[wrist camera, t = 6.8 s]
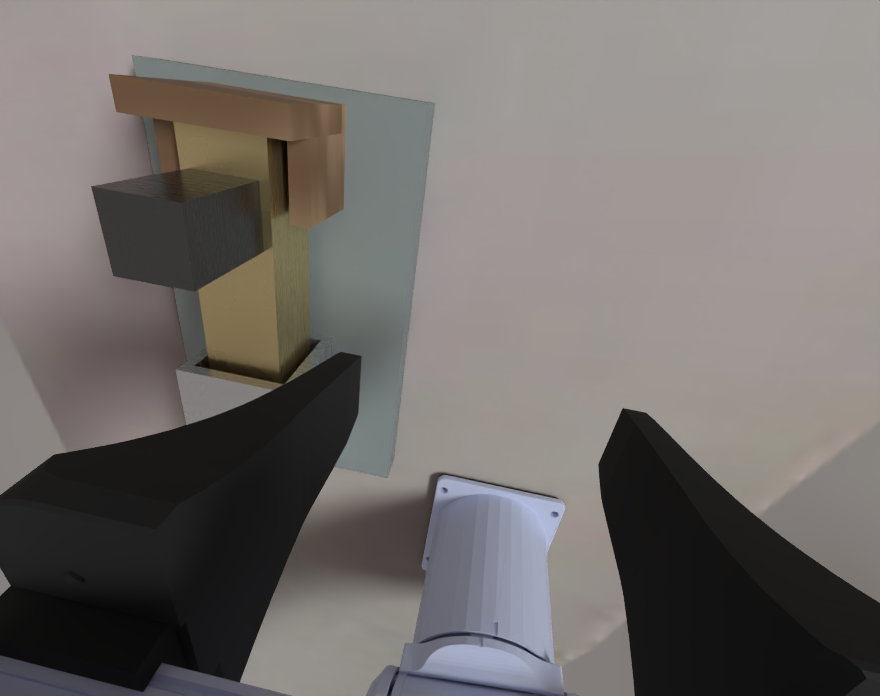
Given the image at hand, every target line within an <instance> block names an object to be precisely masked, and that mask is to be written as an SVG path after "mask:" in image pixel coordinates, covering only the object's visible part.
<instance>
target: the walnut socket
mask: <svg viewBox="0 0 880 696" xmlns="http://www.w3.org/2000/svg"><path fill="white" fill-rule="evenodd" d="M109 78H110V83H111V88H112V93H113V98H114V103H115V107H116V112H120V113H126V114H132V115H138V116H144V117H150V118H153V124H154V130H155V136H156V142H157V148H158V154H159V160H160V166H161V172H162V173H166V172H172V171H177V170H180V164H179V157H178V150H177V143H176V137H175V130H174V123H173V122H179V123H185V124H191V125H197V126H202V127H208V128H214V129H220V130H226V131H232V132H238V133H244V134H249V135H255V136H261V137H267V138H273V139H279V140H285V141H287V153H288V183H289V213H290V225H295V226H301V227H306V228H312V227H314V226H316V225H317V224H319V223H321V222H322V221H324V220H326V219H327V218H329V217H331V216H333V215H334V214H336V213H338V212H339V211H341V210H343V208H344V172H345V135H346V105H345V104H339V103H333V102H327V101H321V100H315V99H309V98H302V97H296V96H290V95H284V94H278V93H272V92H266V91H260V90H254V89H247V88H241V87H235V86H229V85H223V84H217V83H211V82H199V81H187V80H175V79H163V78H150V77H138V76H126V75H114V74H109Z"/></svg>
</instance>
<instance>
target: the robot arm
mask: <svg viewBox="0 0 880 696" xmlns="http://www.w3.org/2000/svg"><path fill="white" fill-rule="evenodd" d="M361 359H362V356H360V355H355V354H350V353H345V352H339V353H337V354H335V355H334V356H332V357H330V358H329V359H327V360H325V361H324V362H322V363H320V364H319V365H317V366H315V367H314V368H312V369H310V370H309V371H307V372H305V373H303V374H302V375H300V376H298V377H296V378H295V379H293V380H291V381H290V382H288V383H286V384H284V385H282V386H280V387H278V388H276V389H274V390H272V391H270V392H268V393H266V394H264V395H262V396H260V397H258V398H256V399H254V400H252V401H250V402H247V403H245V404H243V405H241V406H238V407H236V408H233V409H231V410H228V411H226V412H223V413H221V414H218V415H215V416H212V417H209V418H206V419H203V420H200V421H197V422H194V423H191V424H188V425H185V426H182V427H179V428H176V429H172V430H169V431H165V432H161V433H158V434H154V435H150V436H146V437H142V438H138V439H134V440H129V441H125V442H120V443H116V444H111V445H105V446H100V447H95V448H89V449H84V450H78V451H73V452H67V453H61V454H55V455H53V456H52V457H50V458H49V459H48V460H46V461H45V462H44V463H42V464H41V465H40V466H38V467H37V468H36V469H34V470H33V471H32V472H30V473H29V474H28V475H26V476H25V477H24V478H22V479H21V480H20V481H18V482H17V483H16V484H14V485H13V486H12V487H10V488H9V489H8V490H7V491H5V492H4V493H3V494H1V495H0V568H1V570H2V571H3V573H4V575H5V577H6V578H7V580H8V582H9V583H10V585H11V586H10V587H9V588H8V589H7V590H6V591H5V592H4V593H3V594H2V595H1V596H0V696H291V695H287V694H283V693H279V692H275V691H271V690H267V689H263V688H259V687H255V686H251V685H247V684H243V683H240V680H241V677H242V674H243V672H244V669H245V666H246V664H247V661H248V658H249V656H250V653H251V650H252V647H253V645H254V642H255V639H256V637H257V634H258V632H259V629H260V627H261V624H262V621H263V619H264V616H265V614H266V611H267V609H268V606H269V604H270V601H271V598H272V596H273V593H274V591H275V589H276V586H277V584H278V581H279V579H280V576H281V574H282V572H283V569H284V567H285V564H286V562H287V559H288V557H289V555H290V552H291V550H292V548H293V546H294V543H295V541H296V539H297V536H298V534H299V532H300V529H301V527H302V525H303V523H304V521H305V519H306V517H307V515H308V513H309V511H310V509H311V507H312V505H313V503H314V502H315V500H316V498H317V496H318V494H319V493H320V491H321V489H322V487H323V486H324V484H325V482H326V480H327V478H328V477H329V475H330V473H331V471H332V470H333V468H334V466H335V464H336V462H337V461H338V459H339V457H340V455H341V453H342V451H343V450H344V448H345V446H346V444H347V442H348V439H349V437H350V434H351V432H352V429H353V427H354V424H355V422H356V419H357V416H358V412H359V394H360V377H361ZM598 465H599V478H600V489H601V499H602V503H603V508H604V512H605V516H606V521H607V525H608V529H609V534H610V538H611V542H612V546H613V550H614V554H615V559H616V563H617V567H618V571H619V575H620V580H621V585H622V590H623V595H624V602H625V610H626V617H627V625H628V633H629V641H630V650H631V660H632V669H633V678H634V691H635V696H880V603H879V602H877V601H876V600H874V599H872V598H871V597H869V596H867V595H866V594H864V593H863V592H861V591H860V590H858V589H856V588H855V587H853V586H852V585H850V584H849V583H847V582H846V581H844V580H843V579H841V578H840V577H838V576H836V575H835V574H834V573H832V572H831V571H829V570H828V569H826V568H825V567H823V566H822V565H821V564H819V563H818V562H816V561H815V560H813V559H812V558H811V557H809V556H808V555H806V554H805V553H803V552H802V551H801V550H799V549H798V548H796V547H795V546H794V545H792V544H791V543H790V542H788V541H787V540H786V539H784V538H783V537H781V536H780V535H779V534H778V533H776V532H775V531H774V530H773V529H771V528H770V527H769V526H768V525H766V524H765V523H764V522H763V521H761V520H760V519H759V518H758V517H756V516H755V515H754V514H753V513H751V512H750V511H749V510H748V509H747V508H746V507H744V506H743V505H742V504H741V503H740V502H739V501H737V500H736V499H735V498H734V497H733V496H732V495H731V494H730V493H729V492H727V491H726V490H725V489H724V488H723V487H722V486H721V485H720V484H719V483H717V482H716V481H715V480H714V479H713V478H712V477H711V476H710V475H709V474H708V473H707V472H706V471H705V470H704V469H703V468H702V467H701V466H700V465H699V464H698V463H697V462H696V461H695V460H694V459H693V458H692V457H691V456H690V455H689V454H688V453H687V452H686V451H685V450H684V449H683V448H682V447H681V446H680V445H679V444H678V443H677V442H676V441H675V440H674V439H673V438H672V437H671V436H670V435H669V434H668V433H667V432H666V431H665V430H664V429H663V428H662V427H661V426H660V425H659V424H658V423H657V422H656V421H655V420H654V419H652V418H651V417H650V416H649V415H648V414H647V413H644V412H639V411H634V410H629V409H624V408H623V409H622V411H621V414H620V416H619V418H618V421H617V423H616V425H615V427H614V430H613V432H612V434H611V437H610V439H609V441H608V443H607V446H606V448H605V450H604V453H603V455H602V457H601V460H600V462H599V464H598ZM443 488H446V489H443ZM564 511H565V505H564V502H563V501H562V500H559V499H555V498H551V497H546V496H541V495H537V494H532V493H527V492H523V491H518V490H514V489H509V488H504V487H500V486H495V485H490V484H486V483H481V482H476V481H472V480H467V479H462V478H458V477H453V476H448V475H442V476H440V477H439V478H438V481H437V486H436V492H435V497H434V502H433V507H432V513H431V518H430V523H429V528H428V534H427V539H426V544H425V549H424V555H423V560H422V565H421V566H422V569H423V570H425V571H426V576H425V581H424V587H423V592H422V597H421V602H420V608H419V613H418V618H417V623H416V629H415V634H414V639H413V643H406V644H405V645H404V650H403V654H402V659H401V664H400V667H397V666H393V665H389V666H387V667H386V668H385V669H384V670H383V671H382V673H381V674H380V675H379V676H378V677H377V678H376V679H375V680H374V681H373V682H372V684H371V686H370V688H369V690H368V692H367V695H366V696H579V695H577V694H576V693H567V692H564V689H563V677H562V667H561V666H560V665H558V664H554V651H553V637H552V623H551V609H550V595H549V580H548V566H547V552H548V549H549V547H550V545H551V542H552V540H553V537H554V535H555V532H556V530H557V528H558V525H559V523H560V520H561V518H562V516H563V513H564Z"/></svg>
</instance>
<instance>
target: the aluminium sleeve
mask: <svg viewBox="0 0 880 696" xmlns="http://www.w3.org/2000/svg"><path fill="white" fill-rule="evenodd" d="M332 356H334V338H333V337H328V336H323V335H318V334H313V333H310V354H309V355H308V357H307V358H306V359H305V360H304V361H303V363H302V364H301V365H300V366H299V367H298V369H297V370H296V371H295V372H294V373H293V375H292V376H291V377H290V378H289V379H288V381H287V382H286V383H288V382H290V381H291V380H293V379H295V378H296V377H298V376H300V375H302V374H303V373H305V372H307V371H309V370H310V369H312V368H314V367H315V366H317V365H319V364H320V363H322V362H324V361H325V360H327V359H329V358H330V357H332ZM176 375H177V380H178V385H179V390H180V395H181V401H182V406H183V411H184V416H185V421H186V425H188V424H191V423H194V422H197V421H200V420H203V419H206V418H209V417H212V416H215V415H218V414H221V413H223V412H226V411H228V410H231V409H233V408H236V407H238V406H241V405H243V404H245V403H247V402H250V401H252V400H254V399H256V398H258V397H260V396H262V395H264V394H266V393H268V392H270V391H272V390H274V389H276V388H278V387H280V386H282V385H284V384H280V383H275V382H270V381H265V380H261V379H256V378H251V377H246V376H241V375H236V374H232V373H227V372H222V371H217V370H212V369H210V366H209V359H208V353H207V346H205V347H204V348H203V349H202V350H200V351H199V352H198V353H196V354H195V355H194V356H192V357H191V358H190V359H189V360H187V361H186V362H185V363H183V364H182V365H181V366H179V367H178V368H177V369H176ZM286 383H285V384H286Z"/></svg>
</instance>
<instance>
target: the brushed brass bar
mask: <svg viewBox="0 0 880 696" xmlns="http://www.w3.org/2000/svg"><path fill="white" fill-rule="evenodd" d="M173 123H174V130H175V137H176V143H177V150H178V157H179V164H180V170H177V171H172V172H166V173H161V174H156V175H150V176H145V177H140V178H134V179H129V180H123V181H118V182H113V183H107V184H102V185H97V186H91V187H92V191H93V195H94V199H95V203H96V207H97V211H98V215H99V219H100V224H101V228H102V232H103V236H104V240H105V244H106V248H107V252H108V256H109V260H110V264H111V268H112V272H113V276H117V277H122V278H127V279H132V280H137V281H142V282H147V283H152V284H158V285H163V286H168V287H173V288H178V289H183V290H188V291H193V292H195V291H197V290H198V292H199V299H200V305H201V312H202V319H203V326H204V332H205V339H206V346H207V353H208V359H209V366H210V369H212V370H217V371H222V372H227V373H232V374H236V375H241V376H246V377H251V378H256V379H261V380H265V381H270V382H275V383H280V384H285V383H286V382H287V381H288V379H289V378H290V377H291V376H292V375H293V373H294V372H295V371H296V370H297V369H298V367H299V366H300V365H301V364H302V363H303V361H304V360H305V359H306V358H307V357H308V355H309V354H310V298H309V228H306V227H301V226H295V225H290V213H289V183H288V153H287V141H285V140H279V139H273V138H267V137H261V136H255V135H249V134H244V133H238V132H232V131H226V130H220V129H214V128H208V127H202V126H197V125H191V124H185V123H179V122H173Z"/></svg>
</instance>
